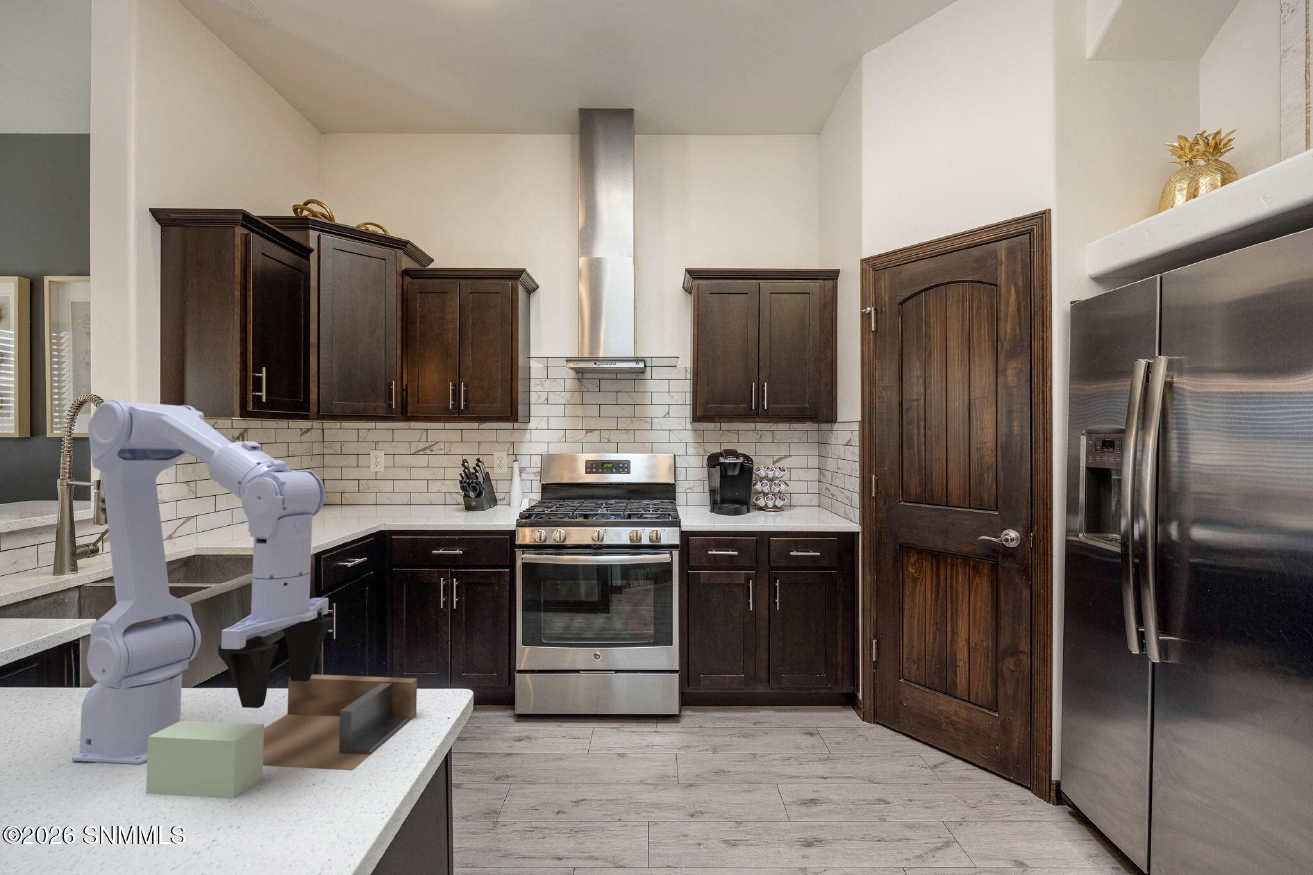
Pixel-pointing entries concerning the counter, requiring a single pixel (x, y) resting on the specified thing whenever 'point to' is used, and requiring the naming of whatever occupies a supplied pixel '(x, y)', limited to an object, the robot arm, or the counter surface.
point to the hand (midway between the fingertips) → (278, 692)
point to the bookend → (368, 721)
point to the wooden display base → (326, 720)
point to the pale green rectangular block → (205, 759)
